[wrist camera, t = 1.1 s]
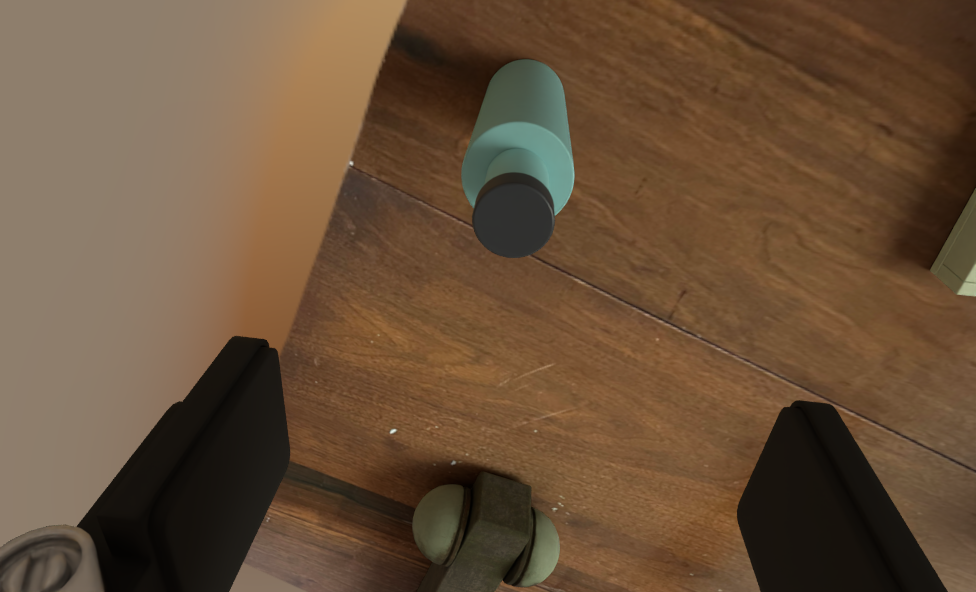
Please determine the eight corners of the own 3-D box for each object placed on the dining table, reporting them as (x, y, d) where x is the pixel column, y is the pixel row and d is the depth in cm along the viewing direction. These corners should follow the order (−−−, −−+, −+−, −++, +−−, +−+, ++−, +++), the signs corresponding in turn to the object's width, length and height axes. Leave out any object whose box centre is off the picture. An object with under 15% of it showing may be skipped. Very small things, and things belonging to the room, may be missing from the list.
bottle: (489, 54, 30) (451, 150, 17) (570, 63, 29) (591, 166, 17) (482, 134, 32) (443, 271, 19) (558, 143, 32) (568, 286, 19)
